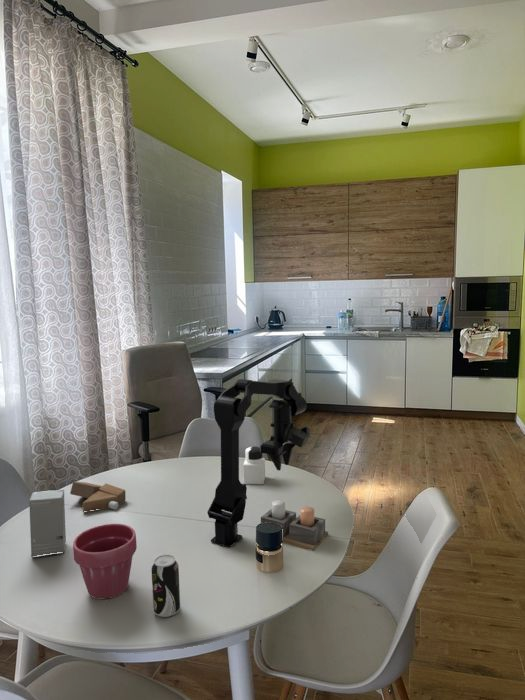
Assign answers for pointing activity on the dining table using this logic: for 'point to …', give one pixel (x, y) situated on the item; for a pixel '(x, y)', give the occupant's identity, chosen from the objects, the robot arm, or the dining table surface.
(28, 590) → the dining table surface
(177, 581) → the beverage can
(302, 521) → the terracotta plunger
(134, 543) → the plant pot
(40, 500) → the skincare box
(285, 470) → the dining table surface
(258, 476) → the medicine bottle
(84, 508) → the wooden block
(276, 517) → the white short rounded cylinder
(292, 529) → the double box holder
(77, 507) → the dining table surface
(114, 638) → the dining table surface
